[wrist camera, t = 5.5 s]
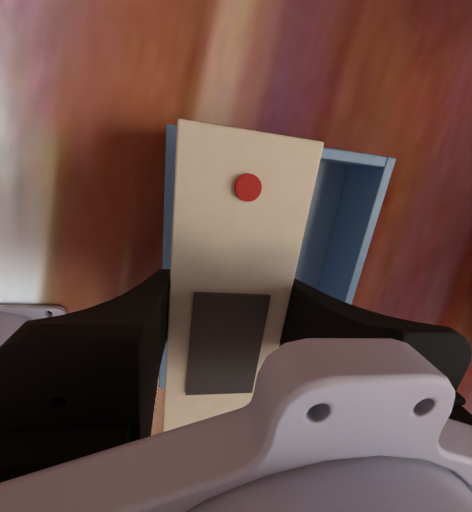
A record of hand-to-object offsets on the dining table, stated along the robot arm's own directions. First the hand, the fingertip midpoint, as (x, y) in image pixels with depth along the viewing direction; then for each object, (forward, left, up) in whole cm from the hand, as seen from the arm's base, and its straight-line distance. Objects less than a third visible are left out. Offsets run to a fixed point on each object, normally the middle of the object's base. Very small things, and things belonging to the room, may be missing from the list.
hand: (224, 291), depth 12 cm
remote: (0, 0, -1) cm, 1 cm away
